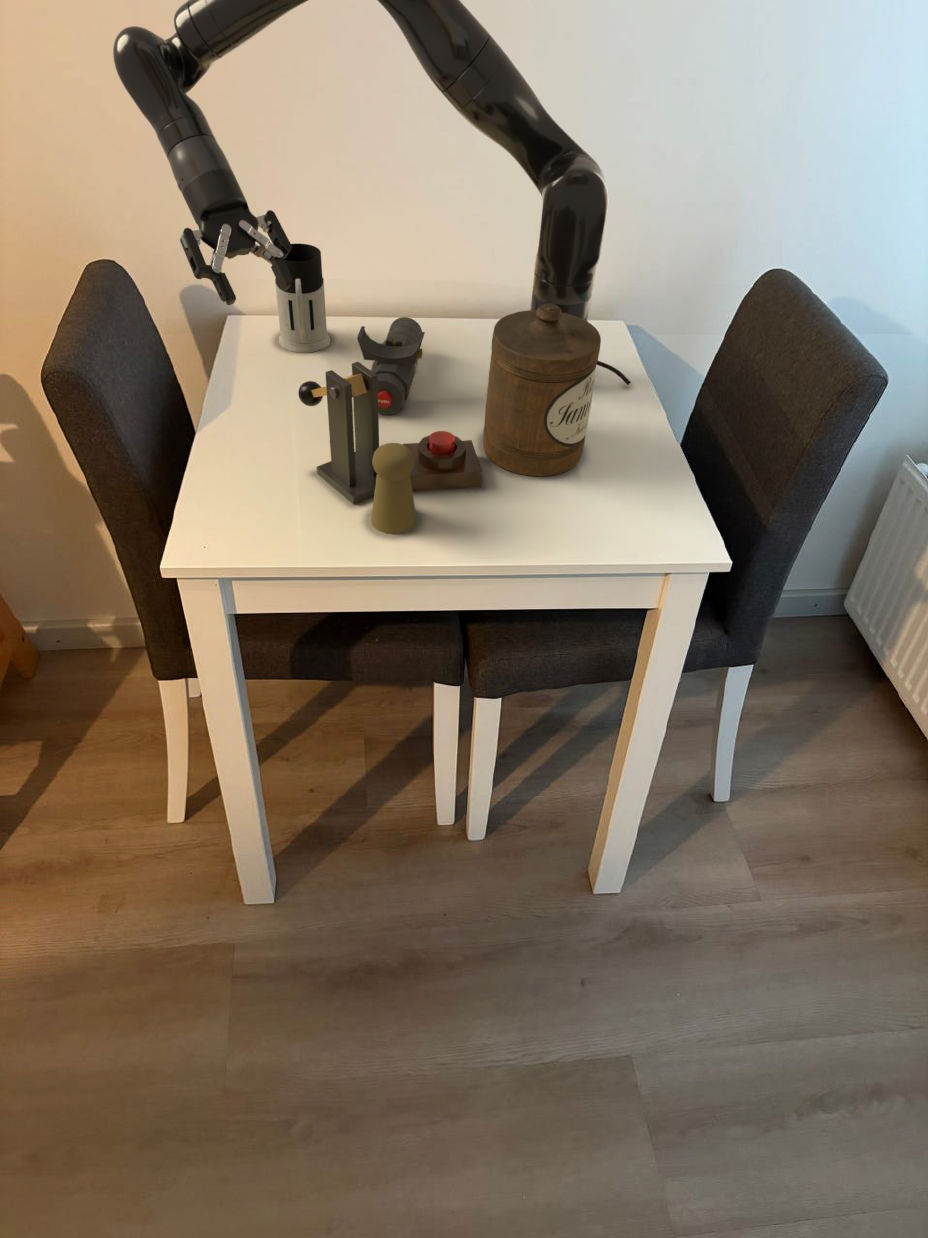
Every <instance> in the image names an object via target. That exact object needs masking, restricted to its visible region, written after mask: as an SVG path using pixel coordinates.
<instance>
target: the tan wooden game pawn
mask: <svg viewBox="0 0 928 1238" xmlns="http://www.w3.org/2000/svg"><path fill="white" fill-rule="evenodd" d="M403 444H404V443H398V442H388V443H384V444H381V445H379V447H378V448H377V449H376V451H375V452H374V455H373V459H372V462H373V467H374V470H375V472H376V473H377V478H376V486H375V493H374V496H373V500H372V501H373V503H372V508H371V509H372V510H371V518H370V523H371V526H373V527H374V529H375V530H377V531H378V532H380V533H383V534H387V535H401V534H402V535H403V534H404V533H408V532H409V531H411V530H413V529H414V528H415V526H416V525H417V521H418V519H417V512H416V505H415V498H414V493H413V491H412V485H411V478H410V473H411V472H412V470H413V466H414V457H413V454H412V452H411V450H410V449H409V448H408V447H407V446H405V445H403Z"/></svg>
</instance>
